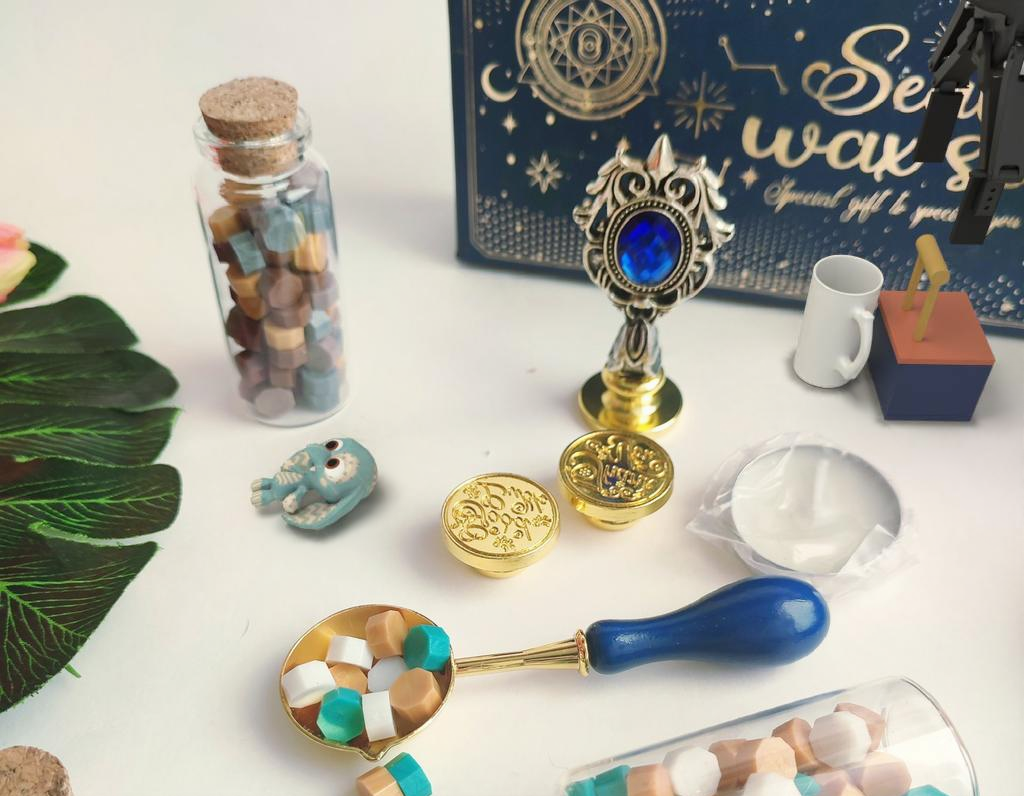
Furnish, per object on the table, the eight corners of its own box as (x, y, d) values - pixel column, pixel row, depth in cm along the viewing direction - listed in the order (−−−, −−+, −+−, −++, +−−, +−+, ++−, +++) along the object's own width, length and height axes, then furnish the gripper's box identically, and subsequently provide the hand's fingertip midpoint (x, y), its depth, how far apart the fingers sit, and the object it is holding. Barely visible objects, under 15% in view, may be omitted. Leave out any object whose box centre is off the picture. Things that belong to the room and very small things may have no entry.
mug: (780, 354, 116) (802, 259, 107) (838, 345, 117) (865, 250, 108) (818, 415, 109) (845, 319, 101) (879, 405, 110) (911, 310, 102)
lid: (898, 364, 104) (923, 285, 97) (875, 295, 111) (897, 219, 104) (993, 365, 103) (1026, 287, 97) (964, 297, 111) (992, 220, 104)
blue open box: (884, 420, 109) (903, 364, 104) (863, 351, 116) (880, 296, 111) (970, 421, 109) (993, 366, 103) (943, 352, 116) (964, 297, 111)
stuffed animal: (235, 424, 101) (359, 393, 100) (263, 476, 106) (380, 446, 105) (232, 507, 93) (366, 474, 93) (262, 558, 99) (389, 526, 98)
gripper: (936, -111, 89) (874, 130, 105) (1027, 15, 72) (937, 280, 88) (1028, -110, 89) (952, 131, 105) (1140, 16, 72) (1030, 281, 88)
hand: (945, 199), depth 96 cm, fingers open, 13 cm apart
